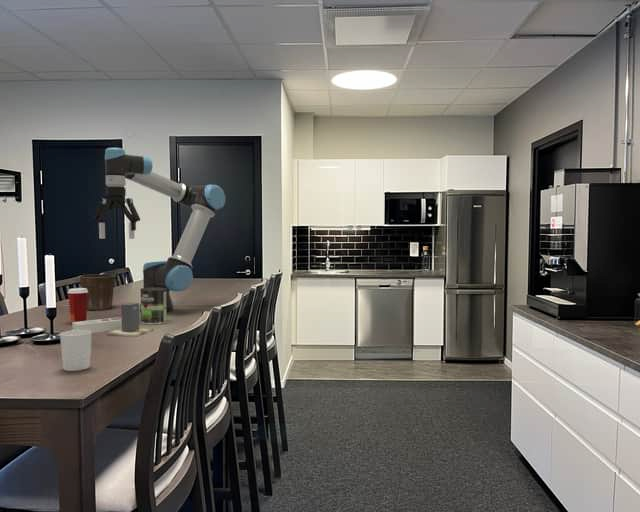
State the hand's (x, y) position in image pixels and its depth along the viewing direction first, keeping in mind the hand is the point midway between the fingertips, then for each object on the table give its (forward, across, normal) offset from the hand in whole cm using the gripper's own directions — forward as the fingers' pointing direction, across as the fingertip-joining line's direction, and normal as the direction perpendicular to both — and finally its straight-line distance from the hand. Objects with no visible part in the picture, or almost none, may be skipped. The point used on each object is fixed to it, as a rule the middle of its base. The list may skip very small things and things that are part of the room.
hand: (116, 238), depth 210 cm
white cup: (+34, +30, -65) cm, 79 cm away
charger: (+34, +17, -18) cm, 42 cm away
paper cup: (+35, -15, -6) cm, 38 cm away
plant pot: (+35, -30, +28) cm, 54 cm away
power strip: (+35, +4, -17) cm, 39 cm away
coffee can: (+35, +14, +3) cm, 38 cm away
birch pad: (+34, +17, -18) cm, 43 cm away
